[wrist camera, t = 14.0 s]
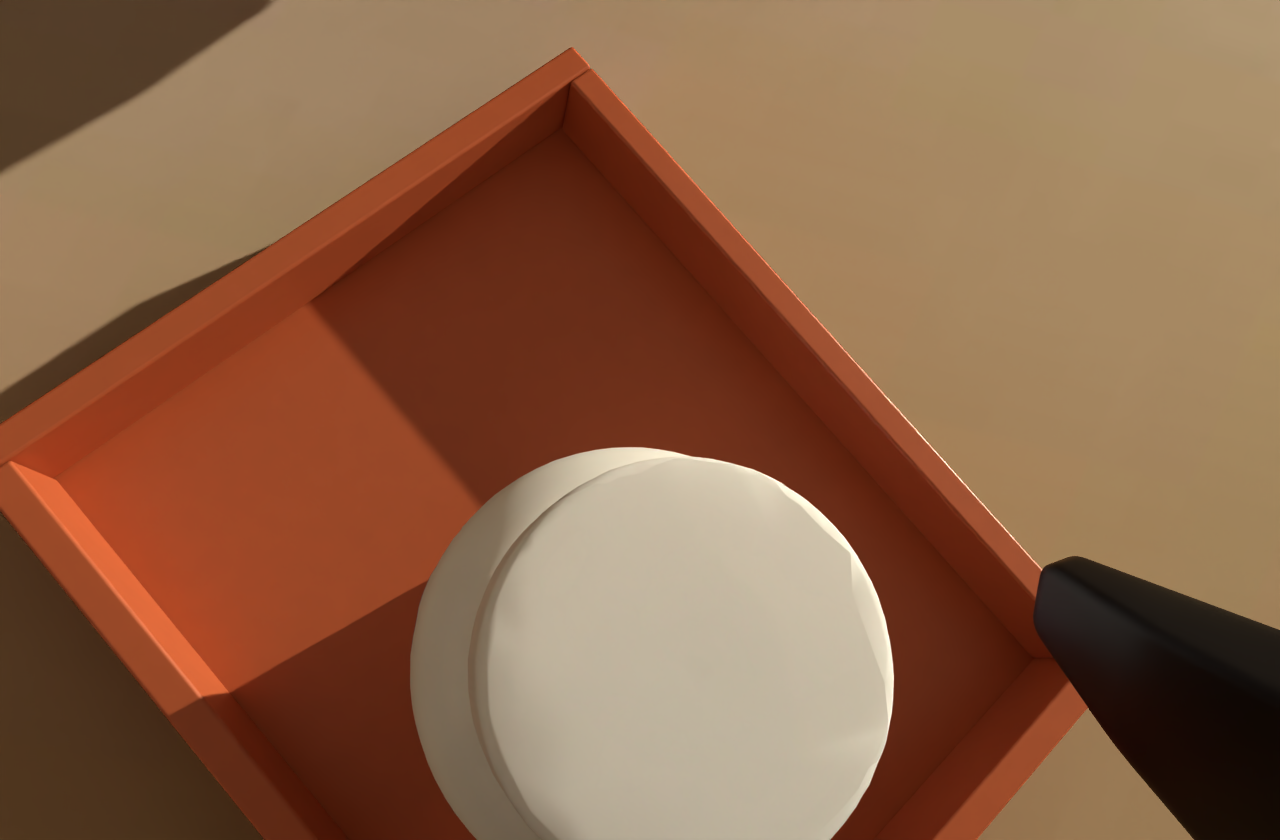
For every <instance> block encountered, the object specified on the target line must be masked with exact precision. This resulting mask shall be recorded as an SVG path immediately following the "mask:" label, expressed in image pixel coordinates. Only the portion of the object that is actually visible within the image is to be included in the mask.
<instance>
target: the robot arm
mask: <svg viewBox="0 0 1280 840" xmlns="http://www.w3.org/2000/svg"><path fill="white" fill-rule="evenodd" d="M1033 623H1034V626H1035V630H1036V632H1037V634H1038V636H1039V638H1040V639H1041V641H1042V642H1043V644H1044V645H1045V646H1046V648H1047V649H1048V651H1049V652H1050V654H1051V655H1052V656H1053V658H1054V659H1055V661H1056V662H1057V664H1058V665H1059V666H1060V668H1061V669H1062V671H1063V672H1064V674H1065V675H1066V677H1067V678H1068V679H1069V681H1070V682H1071V684H1072V685H1073V687H1074V688H1075V689H1076V691H1077V692H1078V694H1079V695H1080V697H1081V698H1082V699H1083V701H1084V702H1085V704H1086V705H1087V707H1088V708H1089V710H1090V711H1091V712H1092V714H1093V715H1094V717H1095V718H1096V720H1097V721H1098V722H1099V724H1100V725H1101V727H1102V728H1103V730H1104V731H1105V732H1106V734H1107V735H1108V736H1109V738H1110V739H1111V740H1112V742H1113V743H1114V744H1115V746H1116V747H1117V748H1118V750H1119V751H1120V752H1121V753H1122V755H1123V756H1124V757H1125V758H1126V760H1127V761H1128V762H1129V763H1130V764H1131V766H1132V767H1133V768H1134V769H1135V770H1136V772H1137V773H1138V774H1139V775H1140V776H1141V777H1142V779H1143V780H1144V781H1145V782H1146V783H1147V785H1148V786H1149V787H1150V788H1151V789H1152V790H1153V792H1154V793H1155V794H1156V795H1157V796H1158V797H1159V799H1160V800H1161V801H1162V802H1163V803H1164V805H1165V806H1166V807H1167V808H1168V809H1169V810H1170V812H1171V813H1172V814H1173V815H1174V816H1175V818H1176V819H1177V820H1178V821H1179V822H1180V823H1181V825H1182V826H1183V827H1184V828H1185V829H1186V830H1187V832H1188V833H1189V834H1190V835H1191V836H1192V838H1193V839H1194V840H1280V630H1278V629H1275V628H1272V627H1270V626H1267V625H1264V624H1262V623H1259V622H1256V621H1253V620H1251V619H1248V618H1245V617H1243V616H1240V615H1237V614H1235V613H1232V612H1229V611H1226V610H1224V609H1221V608H1218V607H1216V606H1213V605H1210V604H1208V603H1205V602H1202V601H1200V600H1197V599H1194V598H1191V597H1189V596H1186V595H1183V594H1181V593H1178V592H1175V591H1173V590H1170V589H1167V588H1164V587H1162V586H1159V585H1156V584H1154V583H1151V582H1148V581H1146V580H1143V579H1140V578H1137V577H1135V576H1132V575H1129V574H1127V573H1124V572H1121V571H1119V570H1116V569H1113V568H1110V567H1108V566H1105V565H1102V564H1100V563H1097V562H1094V561H1092V560H1089V559H1086V558H1083V557H1078V556H1072V557H1067V558H1065V559H1062V560H1059V561H1057V562H1054V563H1051V564H1049V565H1047V566H1045V567H1044V568H1043V570H1042V571H1041V573H1040V577H1039V582H1038V588H1037V594H1036V599H1035V605H1034V611H1033Z"/></svg>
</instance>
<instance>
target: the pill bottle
mask: <svg viewBox="0 0 1280 840" xmlns="http://www.w3.org/2000/svg"><path fill="white" fill-rule="evenodd" d="M893 688H894V673H893V661H892V652H891V645H890V639H889V635H888V631H887V625H886V620H885V617H884V614H883V611H882V608H881V605H880V601H879V598H878V595H877V593H876V591H875V588H874V586H873V583H872V581H871V580H870V578H869V576H868V574H867V572H866V571H865V569H864V567H863V565H862V563H861V562H860V560H859V558H858V556H857V555H856V553H855V552H854V550H853V549H852V547H851V546H850V544H849V543H848V542H847V540H846V539H845V537H844V536H843V535H842V534H841V533H840V532H839V531H838V529H837V528H836V527H835V526H834V525H833V524H832V523H831V522H830V521H829V520H828V519H827V518H826V517H825V516H824V515H823V514H822V513H821V512H820V511H819V510H818V509H816V508H815V507H814V506H813V505H812V504H811V503H809V502H808V501H807V500H806V499H805V498H803V497H802V496H800V495H799V494H798V493H796V492H794V491H793V490H791V489H789V488H788V487H786V486H785V485H784V484H782V483H781V482H779V481H777V480H775V479H773V478H771V477H769V476H767V475H765V474H763V473H760V472H758V471H756V470H754V469H750V468H747V467H743V466H740V465H736V464H733V463H728V462H724V461H719V460H715V459H709V458H701V457H691V456H688V455H684V454H680V453H676V452H671V451H665V450H660V449H652V448H643V447H621V448H606V449H598V450H592V451H588V452H583V453H578V454H574V455H571V456H568V457H564V458H561V459H557V460H555V461H552V462H550V463H548V464H545V465H543V466H541V467H539V468H537V469H535V470H533V471H531V472H529V473H527V474H525V475H524V476H522V477H520V478H518V479H517V480H515V481H514V482H512V483H511V484H509V485H508V486H506V487H505V488H503V489H502V490H501V491H499V492H498V493H496V494H495V495H494V496H493V497H492V498H490V499H489V500H488V501H487V502H486V503H485V504H484V505H483V506H482V507H481V508H480V509H479V510H478V511H477V512H476V513H475V514H474V515H473V516H472V517H471V518H470V519H469V520H468V521H467V523H466V524H465V525H464V526H463V527H462V529H461V530H460V532H459V533H458V534H457V535H456V536H455V537H454V539H453V540H452V541H451V543H450V544H449V546H448V548H447V549H446V551H445V552H444V554H443V555H442V557H441V559H440V561H439V563H438V564H437V566H436V568H435V569H434V571H433V572H432V574H431V575H430V578H429V580H428V582H427V585H426V587H425V589H424V591H423V594H422V597H421V600H420V603H419V607H418V613H417V618H416V623H415V628H414V633H413V638H412V646H411V654H410V690H411V701H412V708H413V713H414V718H415V723H416V727H417V731H418V735H419V738H420V742H421V745H422V748H423V751H424V753H425V756H426V759H427V762H428V765H429V767H430V769H431V772H432V774H433V776H434V778H435V780H436V782H437V784H438V786H439V788H440V790H441V791H442V793H443V795H444V797H445V799H446V800H447V802H448V803H449V805H450V806H451V808H452V809H453V811H454V812H455V814H456V815H457V816H458V818H459V819H460V820H461V822H462V823H463V824H464V825H465V827H466V828H467V829H468V830H469V832H470V833H471V834H472V835H473V836H474V837H475V838H476V839H477V840H830V839H831V838H832V837H833V836H834V835H835V834H836V832H837V831H838V830H839V829H840V828H841V827H842V826H843V824H844V823H845V822H846V820H847V819H848V818H849V816H850V815H851V813H852V812H853V811H854V809H855V808H856V807H857V805H858V803H859V801H860V799H861V798H862V796H863V794H864V793H865V791H866V790H867V788H868V786H869V785H870V782H871V779H872V777H873V774H874V772H875V769H876V767H877V764H878V761H879V759H880V757H881V755H882V753H883V750H884V747H885V744H886V740H887V735H888V730H889V725H890V720H891V715H892V706H893Z"/></svg>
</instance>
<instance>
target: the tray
mask: <svg viewBox="0 0 1280 840" xmlns="http://www.w3.org/2000/svg"><path fill="white" fill-rule="evenodd" d="M621 447H643V448H652V449H660V450H665V451H671V452H676V453H680V454H684V455H688V456H691V457H701V458H709V459H715V460H719V461H724V462H728V463H733V464H736V465H740V466H743V467H747V468H750V469H754V470H756V471H758V472H760V473H763V474H765V475H767V476H769V477H771V478H773V479H775V480H777V481H779V482H781V483H782V484H784V485H785V486H786V487H788V488H789V489H791V490H793V491H794V492H796V493H798V494H799V495H800V496H802V497H803V498H805V499H806V500H807V501H808V502H809V503H811V504H812V505H813V506H814V507H815V508H816V509H818V510H819V511H820V512H821V513H822V514H823V515H824V516H825V517H826V518H827V519H828V520H829V521H830V522H831V523H832V524H833V525H834V526H835V527H836V528H837V529H838V531H839V532H840V533H841V534H842V535H843V536H844V537H845V539H846V540H847V542H848V543H849V544H850V546H851V547H852V549H853V550H854V552H855V553H856V555H857V556H858V558H859V560H860V562H861V563H862V565H863V567H864V569H865V571H866V572H867V574H868V576H869V578H870V580H871V581H872V583H873V586H874V588H875V591H876V593H877V595H878V598H879V601H880V605H881V608H882V611H883V614H884V617H885V620H886V625H887V631H888V635H889V639H890V645H891V652H892V661H893V673H894V688H893V706H892V715H891V720H890V725H889V730H888V735H887V740H886V744H885V747H884V750H883V753H882V755H881V757H880V759H879V761H878V764H877V767H876V769H875V772H874V774H873V777H872V779H871V782H870V785H869V786H868V788H867V790H866V791H865V793H864V794H863V796H862V798H861V799H860V801H859V803H858V805H857V807H856V808H855V809H854V811H853V812H852V813H851V815H850V816H849V818H848V819H847V820H846V822H845V823H844V824H843V826H842V827H841V828H840V829H839V830H838V831H837V832H836V834H835V835H834V836H833V837H832V838H831V839H830V840H977V838H978V837H979V836H980V835H981V834H982V832H983V831H984V830H985V829H986V828H987V827H988V825H989V824H990V823H991V822H992V821H993V819H994V818H995V817H996V816H997V815H998V813H999V812H1000V811H1001V810H1002V809H1003V808H1004V806H1005V805H1006V804H1007V803H1008V802H1009V800H1010V799H1011V798H1012V797H1013V796H1014V795H1015V793H1016V792H1017V791H1018V790H1019V789H1020V787H1021V786H1022V785H1023V784H1024V783H1025V781H1026V780H1027V779H1028V778H1029V777H1030V776H1031V774H1032V773H1033V772H1034V771H1035V770H1036V768H1037V767H1038V766H1039V765H1040V764H1041V762H1042V761H1043V760H1044V759H1045V758H1046V757H1047V755H1048V754H1049V753H1050V752H1051V751H1052V749H1053V748H1054V747H1055V746H1056V745H1057V744H1058V742H1059V741H1060V740H1061V739H1062V738H1063V736H1064V735H1065V734H1066V733H1067V732H1068V730H1069V729H1070V728H1071V727H1072V726H1073V725H1074V723H1075V722H1076V721H1077V720H1078V719H1079V717H1080V716H1081V715H1082V714H1083V713H1084V712H1085V710H1086V709H1087V708H1088V707H1087V705H1086V704H1085V702H1084V701H1083V699H1082V698H1081V697H1080V695H1079V694H1078V692H1077V691H1076V689H1075V688H1074V687H1073V685H1072V684H1071V682H1070V681H1069V679H1068V678H1067V677H1066V675H1065V674H1064V672H1063V671H1062V669H1061V668H1060V666H1059V665H1058V664H1057V662H1056V661H1055V659H1054V658H1053V656H1052V655H1051V654H1050V652H1049V651H1048V649H1047V648H1046V646H1045V645H1044V644H1043V642H1042V641H1041V639H1040V638H1039V636H1038V634H1037V632H1036V630H1035V626H1034V623H1033V611H1034V605H1035V599H1036V594H1037V588H1038V582H1039V577H1040V573H1041V571H1042V569H1041V568H1040V566H1039V565H1038V564H1037V563H1036V562H1035V561H1034V560H1033V559H1032V558H1031V556H1030V555H1029V554H1028V553H1027V552H1026V551H1025V550H1024V549H1023V548H1022V546H1021V545H1020V544H1019V543H1018V542H1017V541H1016V540H1015V539H1014V537H1013V536H1012V535H1011V534H1010V533H1009V532H1008V531H1007V530H1006V529H1005V527H1004V526H1003V525H1002V524H1001V523H1000V522H999V521H998V520H997V519H996V517H995V516H994V515H993V514H992V513H991V512H990V511H989V510H988V509H987V507H986V506H985V505H984V504H983V503H982V502H981V501H980V500H979V499H978V497H977V496H976V495H975V494H974V493H973V492H972V491H971V490H970V489H969V487H968V486H967V485H966V484H965V483H964V482H963V481H962V480H961V478H960V477H959V476H958V475H957V474H956V473H955V472H954V471H953V470H952V468H951V467H950V466H949V465H948V464H947V463H946V462H945V461H944V460H943V458H942V457H941V456H940V455H939V454H938V453H937V452H936V451H935V450H934V448H933V447H932V446H931V445H930V444H929V443H928V442H927V441H926V440H925V438H924V437H923V436H922V435H921V434H920V433H919V432H918V431H917V430H916V428H915V427H914V426H913V425H912V424H911V423H910V422H909V421H908V419H907V418H906V417H905V416H904V415H903V414H902V413H901V412H900V411H899V409H898V408H897V407H896V406H895V405H894V404H893V403H892V402H891V401H890V399H889V398H888V397H887V396H886V395H885V394H884V393H883V392H882V391H881V389H880V388H879V387H878V386H877V385H876V384H875V383H874V382H873V381H872V379H871V378H870V377H869V376H868V375H867V374H866V373H865V372H864V371H863V369H862V368H861V367H860V366H859V365H858V364H857V363H856V362H855V361H854V359H853V358H852V357H851V356H850V355H849V354H848V353H847V352H846V350H845V349H844V348H843V347H842V346H841V345H840V344H839V343H838V342H837V340H836V339H835V338H834V337H833V336H832V335H831V334H830V333H829V332H828V330H827V329H826V328H825V327H824V326H823V325H822V324H821V323H820V322H819V320H818V319H817V318H816V317H815V316H814V315H813V314H812V313H811V312H810V310H809V309H808V308H807V307H806V306H805V305H804V304H803V303H802V302H801V300H800V299H799V298H798V297H797V296H796V295H795V294H794V293H793V291H792V290H791V289H790V288H789V287H788V286H787V285H786V284H785V283H784V281H783V280H782V279H781V278H780V277H779V276H778V275H777V274H776V273H775V271H774V270H773V269H772V268H771V267H770V266H769V265H768V264H767V263H766V261H765V260H764V259H763V258H762V257H761V256H760V255H759V254H758V253H757V251H756V250H755V249H754V248H753V247H752V246H751V245H750V244H749V243H748V241H747V240H746V239H745V238H744V237H743V236H742V235H741V234H740V233H739V231H738V230H737V229H736V228H735V227H734V226H733V225H732V224H731V222H730V221H729V220H728V219H727V218H726V217H725V216H724V215H723V214H722V212H721V211H720V210H719V209H718V208H717V207H716V206H715V205H714V204H713V202H712V201H711V200H710V199H709V198H708V197H707V196H706V195H705V194H704V192H703V191H702V190H701V189H700V188H699V187H698V186H697V185H696V184H695V182H694V181H693V180H692V179H691V178H690V177H689V176H688V175H687V174H686V172H685V171H684V170H683V169H682V168H681V167H680V166H679V165H678V163H677V162H676V161H675V160H674V159H673V158H672V157H671V156H670V155H669V153H668V152H667V151H666V150H665V149H664V148H663V147H662V146H661V145H660V143H659V142H658V141H657V140H656V139H655V138H654V137H653V136H652V135H651V133H650V132H649V131H648V130H647V129H646V128H645V127H644V126H643V125H642V123H641V122H640V121H639V120H638V119H637V118H636V117H635V116H634V115H633V113H632V112H631V111H630V110H629V109H628V108H627V107H626V106H625V105H624V103H623V102H622V101H621V100H620V99H619V98H618V97H617V96H616V94H615V93H614V92H613V91H612V90H611V89H610V88H609V87H608V86H607V84H606V83H605V82H604V81H603V80H602V79H601V78H600V77H599V76H598V74H597V73H596V72H595V71H594V70H593V69H590V67H589V64H588V63H587V62H586V61H585V60H584V59H583V58H582V57H581V56H580V54H579V53H578V52H577V51H576V50H575V49H574V48H573V47H571V48H569V49H567V50H566V51H564V52H563V53H561V54H560V55H558V56H557V57H555V58H554V59H552V60H551V61H549V62H548V63H546V64H545V65H543V66H542V67H540V68H539V69H537V70H536V71H534V72H533V73H531V74H530V75H528V76H527V77H525V78H524V79H522V80H520V81H519V82H517V83H516V84H514V85H513V86H511V87H510V88H508V89H507V90H505V91H504V92H502V93H501V94H499V95H498V96H496V97H495V98H493V99H492V100H490V101H489V102H487V103H486V104H484V105H483V106H481V107H480V108H478V109H477V110H475V111H474V112H472V113H470V114H469V115H467V116H466V117H464V118H463V119H461V120H460V121H458V122H457V123H455V124H454V125H452V126H451V127H449V128H448V129H446V130H445V131H443V132H442V133H440V134H439V135H437V136H436V137H434V138H433V139H431V140H430V141H428V142H427V143H425V144H424V145H422V146H420V147H419V148H417V149H416V150H414V151H413V152H411V153H410V154H408V155H407V156H405V157H404V158H402V159H401V160H399V161H398V162H396V163H395V164H393V165H392V166H390V167H389V168H387V169H386V170H384V171H383V172H381V173H380V174H378V175H377V176H375V177H373V178H372V179H370V180H369V181H367V182H366V183H364V184H363V185H361V186H360V187H358V188H357V189H355V190H354V191H352V192H351V193H349V194H348V195H346V196H345V197H343V198H342V199H340V200H339V201H337V202H336V203H334V204H333V205H331V206H330V207H328V208H327V209H325V210H323V211H322V212H320V213H319V214H317V215H316V216H314V217H313V218H311V219H310V220H308V221H307V222H305V223H304V224H302V225H301V226H299V227H298V228H296V229H295V230H293V231H292V232H290V233H289V234H287V235H286V236H284V237H283V238H281V239H280V240H278V241H277V242H275V243H273V244H272V245H270V246H269V247H267V248H266V249H264V250H263V251H261V252H260V253H258V254H257V255H255V256H254V257H252V258H251V259H249V260H248V261H246V262H245V263H243V264H242V265H240V266H239V267H237V268H236V269H234V270H233V271H231V272H230V273H228V274H226V275H225V276H223V277H222V278H220V279H219V280H217V281H216V282H214V283H213V284H211V285H210V286H208V287H207V288H205V289H204V290H202V291H201V292H199V293H198V294H196V295H195V296H193V297H192V298H190V299H189V300H187V301H186V302H184V303H183V304H181V305H180V306H178V307H176V308H175V309H173V310H172V311H170V312H169V313H167V314H166V315H164V316H163V317H161V318H160V319H158V320H157V321H155V322H154V323H152V324H151V325H149V326H148V327H146V328H145V329H143V330H142V331H140V332H139V333H137V334H136V335H134V336H133V337H131V338H129V339H128V340H126V341H125V342H123V343H122V344H120V345H119V346H117V347H116V348H114V349H113V350H111V351H110V352H108V353H107V354H105V355H104V356H102V357H101V358H99V359H98V360H96V361H95V362H93V363H92V364H90V365H89V366H87V367H86V368H84V369H83V370H81V371H79V372H78V373H76V374H75V375H73V376H72V377H70V378H69V379H67V380H66V381H64V382H63V383H61V384H60V385H58V386H57V387H55V388H54V389H52V390H51V391H49V392H48V393H46V394H45V395H43V396H42V397H40V398H39V399H37V400H36V401H34V402H33V403H31V404H29V405H28V406H26V407H25V408H23V409H22V410H20V411H19V412H17V413H16V414H14V415H13V416H11V417H10V418H8V419H7V420H5V421H4V422H2V423H1V424H0V512H1V513H2V514H3V516H4V517H5V518H6V519H7V520H8V522H9V523H10V524H11V525H12V527H13V528H14V529H15V530H16V532H17V533H18V534H19V535H20V537H21V538H22V539H23V540H24V542H25V543H26V544H27V545H28V547H29V548H30V549H31V550H32V552H33V553H34V554H35V555H36V557H37V558H38V559H39V560H40V561H41V563H42V564H43V565H44V566H45V568H46V569H47V570H48V571H49V573H50V574H51V575H52V576H53V578H54V579H55V580H56V581H57V583H58V584H59V585H60V586H61V588H62V589H63V590H64V591H65V593H66V594H67V595H68V596H69V598H70V599H71V600H72V601H73V602H74V604H75V605H76V606H77V607H78V609H79V610H80V611H81V612H82V614H83V615H84V616H85V617H86V619H87V620H88V621H89V622H90V624H91V625H92V626H93V627H94V629H95V630H96V631H97V632H98V634H99V635H100V636H101V637H102V639H103V640H104V641H105V642H106V643H107V645H108V646H109V647H110V648H111V650H112V651H113V652H114V653H115V655H116V656H117V657H118V658H119V660H120V661H121V662H122V663H123V665H124V666H125V667H126V668H127V670H128V671H129V672H130V673H131V675H132V676H133V677H134V678H135V680H136V681H137V682H138V683H139V684H140V686H141V687H142V688H143V689H144V691H145V692H146V693H147V694H148V696H149V697H150V698H151V699H152V701H153V702H154V703H155V704H156V706H157V707H158V708H159V709H160V711H161V712H162V713H163V714H164V716H165V717H166V718H167V719H168V721H169V722H170V723H171V724H172V725H173V727H174V728H175V729H176V730H177V732H178V733H179V734H180V735H181V737H182V738H183V739H184V740H185V742H186V743H187V744H188V745H189V747H190V748H191V749H192V750H193V752H194V753H195V754H196V755H197V757H198V758H199V759H200V760H201V762H202V763H203V764H204V765H205V766H206V768H207V769H208V770H209V771H210V773H211V774H212V775H213V776H214V778H215V779H216V780H217V781H218V783H219V784H220V785H221V786H222V788H223V789H224V790H225V791H226V793H227V794H228V795H229V796H230V798H231V799H232V800H233V801H234V803H235V804H236V805H237V806H238V807H239V809H240V810H241V811H242V812H243V814H244V815H245V816H246V817H247V819H248V820H249V821H250V822H251V824H252V825H253V826H254V827H255V829H256V830H257V831H258V832H259V834H260V835H261V836H262V837H263V839H264V840H477V839H476V838H475V837H474V836H473V835H472V834H471V833H470V832H469V830H468V829H467V828H466V827H465V825H464V824H463V823H462V822H461V820H460V819H459V818H458V816H457V815H456V814H455V812H454V811H453V809H452V808H451V806H450V805H449V803H448V802H447V800H446V799H445V797H444V795H443V793H442V791H441V790H440V788H439V786H438V784H437V782H436V780H435V778H434V776H433V774H432V772H431V769H430V767H429V765H428V762H427V759H426V756H425V753H424V751H423V748H422V745H421V742H420V738H419V735H418V731H417V727H416V723H415V718H414V713H413V708H412V701H411V690H410V654H411V646H412V638H413V633H414V628H415V623H416V618H417V613H418V607H419V603H420V600H421V597H422V594H423V591H424V589H425V587H426V585H427V582H428V580H429V578H430V575H431V574H432V572H433V571H434V569H435V568H436V566H437V564H438V563H439V561H440V559H441V557H442V555H443V554H444V552H445V551H446V549H447V548H448V546H449V544H450V543H451V541H452V540H453V539H454V537H455V536H456V535H457V534H458V533H459V532H460V530H461V529H462V527H463V526H464V525H465V524H466V523H467V521H468V520H469V519H470V518H471V517H472V516H473V515H474V514H475V513H476V512H477V511H478V510H479V509H480V508H481V507H482V506H483V505H484V504H485V503H486V502H487V501H488V500H489V499H490V498H492V497H493V496H494V495H495V494H496V493H498V492H499V491H501V490H502V489H503V488H505V487H506V486H508V485H509V484H511V483H512V482H514V481H515V480H517V479H518V478H520V477H522V476H524V475H525V474H527V473H529V472H531V471H533V470H535V469H537V468H539V467H541V466H543V465H545V464H548V463H550V462H552V461H555V460H557V459H561V458H564V457H568V456H571V455H574V454H578V453H583V452H588V451H592V450H598V449H606V448H621Z"/></svg>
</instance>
